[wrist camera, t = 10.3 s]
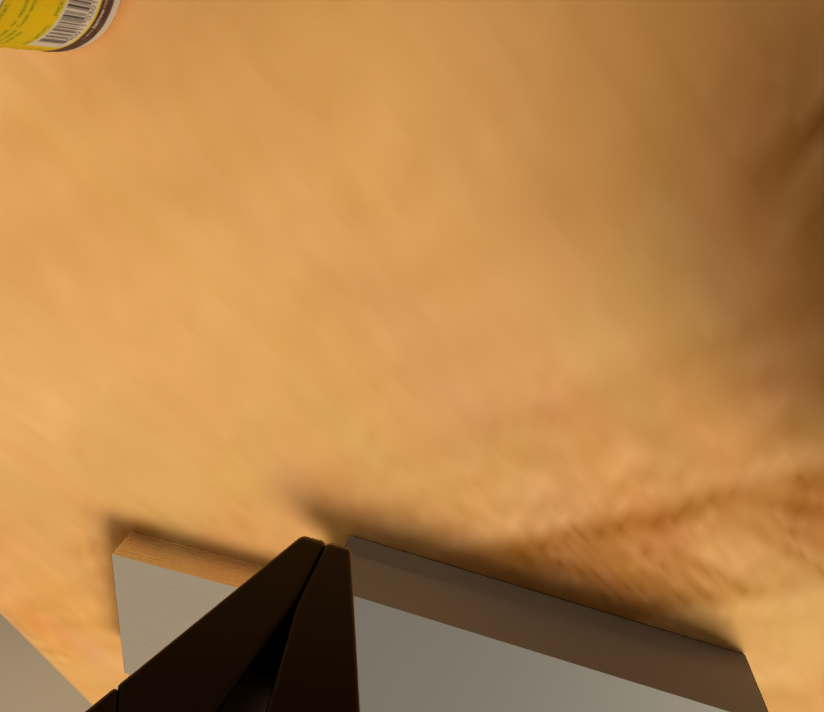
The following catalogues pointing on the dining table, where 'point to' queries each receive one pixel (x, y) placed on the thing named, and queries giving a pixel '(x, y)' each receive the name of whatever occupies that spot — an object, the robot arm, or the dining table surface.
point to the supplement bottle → (54, 23)
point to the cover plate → (167, 591)
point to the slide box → (520, 648)
